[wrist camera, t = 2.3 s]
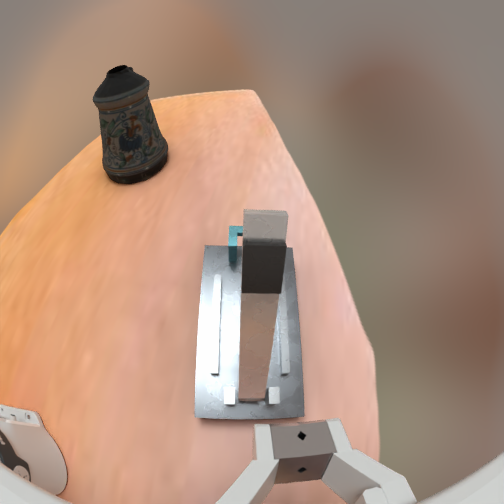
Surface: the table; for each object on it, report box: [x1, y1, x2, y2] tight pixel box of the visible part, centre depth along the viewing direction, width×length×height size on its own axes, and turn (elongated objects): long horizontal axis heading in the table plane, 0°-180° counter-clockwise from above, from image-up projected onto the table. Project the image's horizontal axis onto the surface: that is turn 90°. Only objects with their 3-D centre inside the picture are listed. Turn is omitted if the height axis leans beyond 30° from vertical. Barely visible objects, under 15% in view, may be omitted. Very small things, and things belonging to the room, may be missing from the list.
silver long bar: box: [238, 209, 288, 401], centre depth 24 cm, size 3×23×2 cm
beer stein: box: [93, 65, 168, 184], centre depth 50 cm, size 16×19×25 cm
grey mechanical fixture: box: [195, 226, 304, 419], centre depth 37 cm, size 14×27×8 cm, turn 1°
